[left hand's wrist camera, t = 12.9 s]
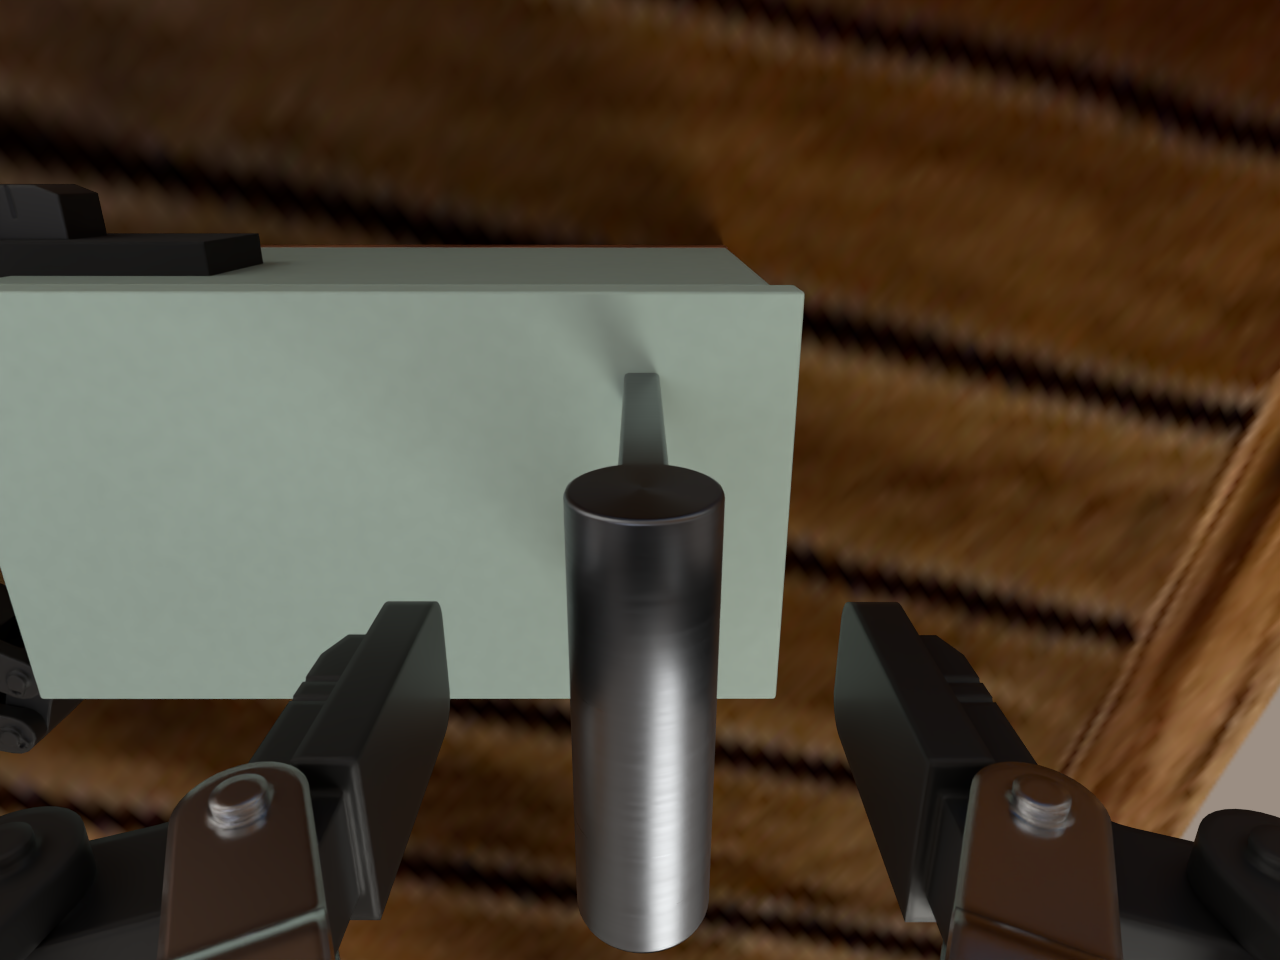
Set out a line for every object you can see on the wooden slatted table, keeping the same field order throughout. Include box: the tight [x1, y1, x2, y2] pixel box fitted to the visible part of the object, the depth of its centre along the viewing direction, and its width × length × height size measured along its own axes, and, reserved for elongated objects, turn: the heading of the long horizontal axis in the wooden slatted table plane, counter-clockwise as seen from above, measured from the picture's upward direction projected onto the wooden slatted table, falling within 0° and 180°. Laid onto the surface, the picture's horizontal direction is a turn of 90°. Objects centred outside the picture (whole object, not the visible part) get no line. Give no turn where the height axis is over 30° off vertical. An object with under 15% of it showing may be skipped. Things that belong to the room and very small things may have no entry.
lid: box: [0, 285, 804, 953], centre depth 14 cm, size 17×9×9 cm, turn 90°
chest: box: [0, 245, 769, 285], centre depth 23 cm, size 17×9×10 cm, turn 90°
